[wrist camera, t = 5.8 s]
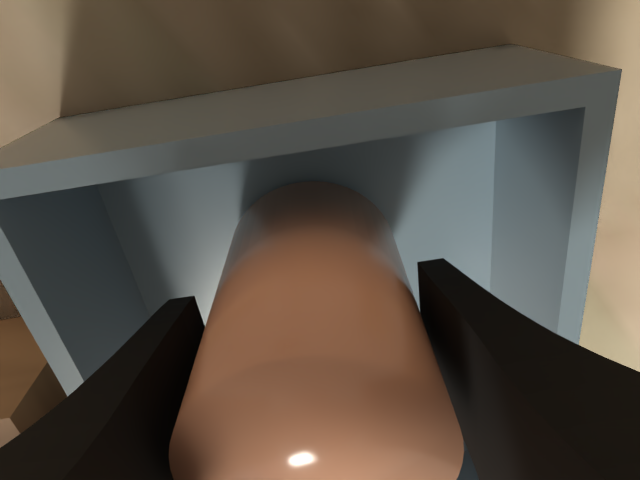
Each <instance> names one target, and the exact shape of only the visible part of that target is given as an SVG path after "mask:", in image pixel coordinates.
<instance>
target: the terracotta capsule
mask: <svg viewBox="0 0 640 480" xmlns="http://www.w3.org/2000/svg"><path fill="white" fill-rule="evenodd" d="M463 456H464V443H463V436H462V433H461V429H460V426H459V423H458V420H457V417H456V414H455V411H454V408H453V406H452V403H451V400H450V397H449V394H448V391H447V388H446V385H445V383H444V380H443V377H442V374H441V371H440V368H439V365H438V363H437V360H436V357H435V354H434V351H433V348H432V345H431V342H430V340H429V337H428V334H427V331H426V328H425V325H424V322H423V320H422V317H421V314H420V311H419V308H418V305H417V302H416V299H415V297H414V294H413V291H412V288H411V285H410V282H409V279H408V277H407V274H406V271H405V268H404V265H403V262H402V259H401V256H400V254H399V251H398V248H397V245H396V242H395V239H394V236H393V234H392V231H391V228H390V226H389V224H388V222H387V220H386V219H385V217H384V216H383V214H382V213H381V211H380V210H379V209H378V208H377V207H376V206H375V205H374V204H373V203H372V202H371V201H370V200H368V199H367V198H366V197H364V196H363V195H361V194H360V193H358V192H356V191H354V190H352V189H350V188H348V187H345V186H341V185H338V184H334V183H329V182H320V181H307V182H298V183H293V184H289V185H286V186H282V187H279V188H277V189H275V190H273V191H271V192H269V193H267V194H266V195H264V196H263V197H261V198H260V199H258V200H257V201H256V202H255V203H254V204H252V205H251V206H250V208H249V209H248V210H247V211H246V212H245V213H244V215H243V216H242V218H241V219H240V221H239V223H238V225H237V227H236V229H235V232H234V235H233V238H232V241H231V245H230V248H229V251H228V254H227V258H226V261H225V264H224V267H223V271H222V274H221V277H220V280H219V284H218V287H217V290H216V293H215V297H214V300H213V303H212V306H211V310H210V313H209V316H208V319H207V323H206V326H205V329H204V332H203V336H202V339H201V342H200V345H199V349H198V352H197V355H196V358H195V361H194V365H193V368H192V371H191V374H190V378H189V381H188V384H187V387H186V391H185V394H184V397H183V400H182V404H181V407H180V410H179V413H178V417H177V420H176V423H175V426H174V430H173V433H172V437H171V440H170V444H169V464H170V470H171V473H172V476H173V479H174V480H457V478H458V476H459V473H460V470H461V467H462V463H463Z"/></svg>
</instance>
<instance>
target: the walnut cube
mask: <svg viewBox="0 0 640 480" xmlns="http://www.w3.org/2000/svg"><path fill="white" fill-rule="evenodd" d="M66 397H68V396H67V395H66V393H65V391H64V389H63V388H62V386H61V384H60V382H59V381H58V379H57V377H56V376H55V374H54V372H53V370H52V369H51V367H50V365H49V363H48V362H47V360H46V358H45V356H44V355H43V353H42V351H41V349H40V348H39V346H38V344H37V342H36V341H35V339H34V337H33V336H32V334H31V332H30V330H29V329H28V327H27V325H26V323H25V322H24V320H23V318H22V317H17V318H10V319H3V320H0V448H1V447H2V446H4V445H5V444H6V443H8V442H9V441H11V440H12V439H14V438H15V437H16V436H18V435H19V434H21V433H22V432H23V431H25V430H26V429H27V428H29V427H30V426H31V425H33V424H34V423H35V422H37V421H38V420H39V419H40V418H42V417H43V416H44V415H45V414H47V413H48V412H49V411H50V410H52V409H53V408H54V407H56V406H57V405H58V404H59V403H60V402H62V401H63V400H64V399H65V398H66Z"/></svg>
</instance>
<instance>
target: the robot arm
mask: <svg viewBox="0 0 640 480" xmlns="http://www.w3.org/2000/svg"><path fill="white" fill-rule="evenodd" d="M417 266H418V285H419V303H420V314H421V317H422V320H423V322H424V325H425V328H426V331H427V334H428V337H429V340H430V342H431V345H432V348H433V351H434V354H435V357H436V360H437V363H438V365H439V368H440V371H441V374H442V377H443V380H444V383H445V385H446V388H447V391H448V394H449V397H450V400H451V403H452V406H453V408H454V411H455V414H456V417H457V420H458V423H459V426H460V429H461V433H462V436H463V440H464V442H465V444H466V447H467V449H468V451H469V454H470V456H471V459H472V461H473V464H474V467H475V469H476V472H477V475H478V478H479V480H640V372H638V371H636V370H633V369H631V368H629V367H626V366H624V365H621V364H619V363H617V362H614V361H612V360H609V359H607V358H605V357H603V356H601V355H598V354H596V353H594V352H592V351H590V350H588V349H586V348H584V347H582V346H580V345H578V344H576V343H574V342H572V341H570V340H568V339H566V338H564V337H562V336H560V335H558V334H556V333H554V332H552V331H550V330H549V329H547V328H545V327H543V326H542V325H540V324H538V323H536V322H535V321H533V320H532V319H530V318H528V317H527V316H525V315H523V314H522V313H520V312H518V311H517V310H515V309H514V308H512V307H510V306H509V305H507V304H506V303H504V302H503V301H501V300H500V299H498V298H497V297H495V296H494V295H493V294H491V293H490V292H488V291H487V290H485V289H484V288H483V287H481V286H480V285H478V284H477V283H476V282H474V281H473V280H472V279H470V278H469V277H468V276H466V275H465V274H464V273H462V272H461V271H460V270H458V269H457V268H456V267H454V266H453V265H452V264H451V263H449V262H448V261H446V260H445V259H444V258H440V259H434V260H427V261H421V262H417ZM204 329H205V325H204V322H203V320H202V317H201V314H200V311H199V308H198V305H197V302H196V299H195V296H188V297H181V298H175V299H169V300H168V301H167V302H166V303H165V304H164V305H163V306H161V307H160V308H159V309H158V310H157V311H156V312H155V313H154V314H153V315H152V316H151V317H150V318H149V319H148V320H147V321H146V322H145V323H144V324H143V325H142V326H141V327H140V329H139V330H138V331H137V332H136V333H135V334H134V335H133V336H132V337H131V338H130V339H129V340H128V341H127V342H126V343H125V344H124V345H123V346H122V347H121V348H120V349H119V350H118V351H117V352H116V353H115V354H114V355H113V356H111V357H110V358H109V359H108V360H107V361H106V362H105V363H104V364H103V365H102V366H101V367H100V368H99V369H97V370H96V371H95V372H94V373H93V374H92V375H91V376H90V377H89V378H88V379H87V380H86V381H84V382H83V383H82V384H81V385H80V386H79V387H78V388H77V389H76V390H75V391H73V392H72V393H71V394H70V395H69V396H68V397H66V398H65V399H64V400H63V401H62V402H60V403H59V404H58V405H57V406H56V407H54V408H53V409H52V410H50V411H49V412H48V413H47V414H45V415H44V416H43V417H42V418H40V419H39V420H38V421H37V422H35V423H34V424H33V425H31V426H30V427H29V428H27V429H26V430H25V431H23V432H22V433H21V434H19V435H18V436H16V437H15V438H14V439H12V440H11V441H9V442H8V443H6V444H5V445H4V446H2V447H1V448H0V480H174V479H173V476H172V473H171V470H170V464H169V444H170V440H171V437H172V433H173V430H174V426H175V423H176V420H177V417H178V413H179V410H180V407H181V404H182V400H183V397H184V394H185V391H186V387H187V384H188V381H189V378H190V374H191V371H192V368H193V365H194V361H195V358H196V355H197V352H198V349H199V345H200V342H201V339H202V336H203V332H204Z"/></svg>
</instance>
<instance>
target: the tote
mask: <svg viewBox="0 0 640 480" xmlns="http://www.w3.org/2000/svg"><path fill="white" fill-rule="evenodd" d="M621 72H622V69H618V68H614V67H610V66H605V65H601V64H597V63H592V62H588V61H584V60H579V59H575V58H571V57H566V56H562V55H558V54H553V53H549V52H545V51H540V50H536V49H532V48H527V47H523V46H519V45H514V44H508V45H501V46H495V47H489V48H483V49H477V50H471V51H465V52H459V53H453V54H446V55H440V56H434V57H428V58H422V59H416V60H410V61H404V62H397V63H391V64H385V65H379V66H373V67H367V68H361V69H355V70H348V71H342V72H336V73H330V74H324V75H318V76H312V77H306V78H299V79H293V80H287V81H281V82H275V83H269V84H263V85H257V86H250V87H244V88H238V89H232V90H226V91H220V92H214V93H208V94H202V95H195V96H189V97H183V98H177V99H171V100H165V101H159V102H153V103H146V104H140V105H134V106H128V107H122V108H116V109H110V110H104V111H97V112H91V113H85V114H79V115H73V116H67V117H61V118H57V119H55V120H53V121H52V122H50V123H48V124H46V125H44V126H42V127H40V128H38V129H36V130H34V131H32V132H30V133H29V134H27V135H25V136H23V137H21V138H19V139H17V140H15V141H13V142H11V143H9V144H7V145H6V146H4V147H2V148H0V280H1V282H2V283H3V285H4V287H5V289H6V290H7V292H8V294H9V296H10V297H11V299H12V301H13V302H14V304H15V306H16V308H17V309H18V311H19V313H20V315H21V316H22V318H23V320H24V322H25V323H26V325H27V327H28V329H29V330H30V332H31V334H32V336H33V337H34V339H35V341H36V342H37V344H38V346H39V348H40V349H41V351H42V353H43V355H44V356H45V358H46V360H47V362H48V363H49V365H50V367H51V369H52V370H53V372H54V374H55V376H56V377H57V379H58V381H59V382H60V384H61V386H62V388H63V389H64V391H65V393H66V395H67V396H69V395H70V394H71V393H72V392H73V391H75V390H76V389H77V388H78V387H79V386H80V385H81V384H82V383H83V382H84V381H86V380H87V379H88V378H89V377H90V376H91V375H92V374H93V373H94V372H95V371H96V370H97V369H99V368H100V367H101V366H102V365H103V364H104V363H105V362H106V361H107V360H108V359H109V358H110V357H111V356H113V355H114V354H115V353H116V352H117V351H118V350H119V349H120V348H121V347H122V346H123V345H124V344H125V343H126V342H127V341H128V340H129V339H130V338H131V337H132V336H133V335H134V334H135V333H136V332H137V331H138V330H139V329H140V327H141V326H142V325H143V324H144V323H145V322H146V321H147V320H148V319H149V318H150V317H151V316H152V315H153V314H154V313H155V312H156V311H157V310H158V309H159V308H160V307H161V306H163V305H164V304H165V303H166V302H167V301H168V300H169V299H175V298H181V297H188V296H195V299H196V302H197V305H198V308H199V311H200V314H201V317H202V320H203V322H204V325H205V326H206V323H207V319H208V316H209V313H210V310H211V306H212V303H213V300H214V297H215V293H216V290H217V287H218V284H219V280H220V277H221V274H222V271H223V267H224V264H225V261H226V258H227V254H228V251H229V248H230V245H231V241H232V238H233V235H234V232H235V229H236V227H237V225H238V223H239V221H240V219H241V218H242V216H243V215H244V213H245V212H246V211H247V210H248V209H249V208H250V206H251V205H252V204H254V203H255V202H256V201H257V200H258V199H260V198H261V197H263V196H264V195H266V194H267V193H269V192H271V191H273V190H275V189H277V188H279V187H282V186H286V185H289V184H293V183H298V182H307V181H320V182H329V183H334V184H338V185H341V186H345V187H348V188H350V189H352V190H354V191H356V192H358V193H360V194H361V195H363V196H364V197H366V198H367V199H368V200H370V201H371V202H372V203H373V204H374V205H375V206H376V207H377V208H378V209H379V210H380V211H381V213H382V214H383V216H384V217H385V219H386V220H387V222H388V224H389V226H390V228H391V231H392V234H393V236H394V239H395V242H396V245H397V248H398V251H399V254H400V256H401V259H402V262H403V265H404V268H405V271H406V274H407V277H408V279H409V282H410V285H411V288H412V291H413V294H414V297H415V299H416V302H417V305H418V308H419V311H420V303H419V285H418V266H417V262H421V261H427V260H434V259H440V258H444V259H445V260H446V261H448V262H449V263H451V264H452V265H453V266H454V267H456V268H457V269H458V270H460V271H461V272H462V273H464V274H465V275H466V276H468V277H469V278H470V279H472V280H473V281H474V282H476V283H477V284H478V285H480V286H481V287H483V288H484V289H485V290H487V291H488V292H490V293H491V294H493V295H494V296H495V297H497V298H498V299H500V300H501V301H503V302H504V303H506V304H507V305H509V306H510V307H512V308H514V309H515V310H517V311H518V312H520V313H522V314H523V315H525V316H527V317H528V318H530V319H532V320H533V321H535V322H536V323H538V324H540V325H542V326H543V327H545V328H547V329H549V330H550V331H552V332H554V333H556V334H558V335H560V336H562V337H564V338H566V339H568V340H570V341H572V342H574V343H576V344H578V345H579V339H580V332H581V326H582V320H583V313H584V307H585V301H586V294H587V288H588V282H589V275H590V269H591V263H592V256H593V250H594V243H595V237H596V231H597V224H598V218H599V212H600V205H601V199H602V193H603V186H604V180H605V174H606V167H607V161H608V155H609V148H610V142H611V136H612V129H613V123H614V117H615V110H616V104H617V98H618V91H619V85H620V78H621ZM463 443H464V456H463V463H462V467H461V470H460V473H459V476H458V478H457V480H479V478H478V475H477V472H476V469H475V467H474V464H473V461H472V459H471V456H470V454H469V451H468V449H467V447H466V444H465V442H464V440H463Z"/></svg>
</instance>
